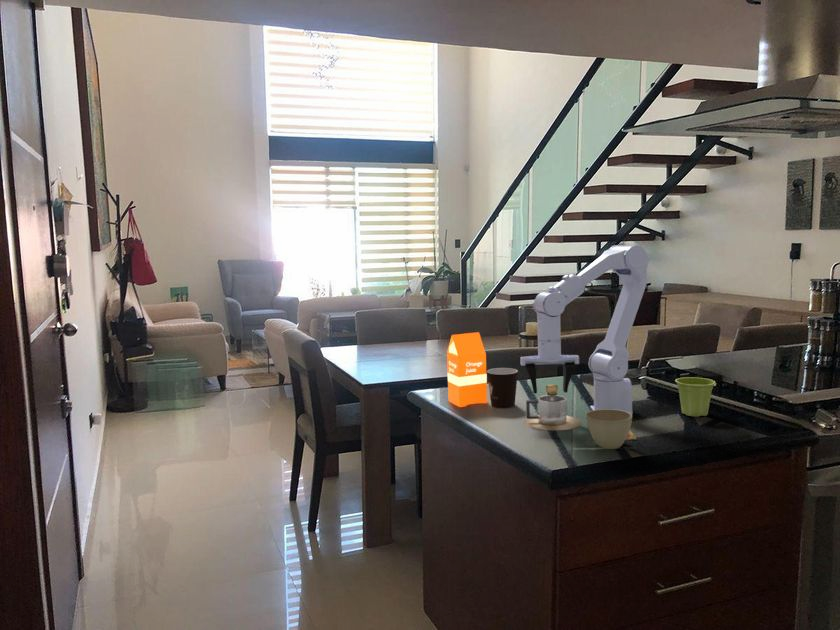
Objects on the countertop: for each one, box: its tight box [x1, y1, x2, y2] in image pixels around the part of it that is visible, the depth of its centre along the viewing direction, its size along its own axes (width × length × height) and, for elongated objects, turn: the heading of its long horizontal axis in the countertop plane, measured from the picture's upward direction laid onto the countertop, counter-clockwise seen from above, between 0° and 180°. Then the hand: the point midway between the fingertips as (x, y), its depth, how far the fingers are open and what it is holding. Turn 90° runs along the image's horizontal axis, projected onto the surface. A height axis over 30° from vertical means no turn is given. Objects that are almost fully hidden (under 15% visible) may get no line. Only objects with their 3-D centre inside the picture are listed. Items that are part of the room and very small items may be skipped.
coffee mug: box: [486, 367, 519, 409], centre depth 184 cm, size 12×9×10 cm
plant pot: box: [674, 376, 716, 418], centre depth 168 cm, size 9×9×9 cm
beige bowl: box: [585, 409, 633, 450], centre depth 146 cm, size 10×10×7 cm
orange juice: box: [446, 331, 488, 408], centre depth 188 cm, size 8×9×20 cm
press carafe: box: [525, 394, 568, 426], centre depth 165 cm, size 10×7×6 cm
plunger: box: [545, 383, 559, 402], centre depth 164 cm, size 5×5×6 cm
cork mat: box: [523, 414, 582, 431], centre depth 165 cm, size 14×14×1 cm
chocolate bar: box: [626, 429, 637, 440], centre depth 155 cm, size 3×12×2 cm, turn 177°
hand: (550, 392), depth 168 cm, fingers open, 7 cm apart
